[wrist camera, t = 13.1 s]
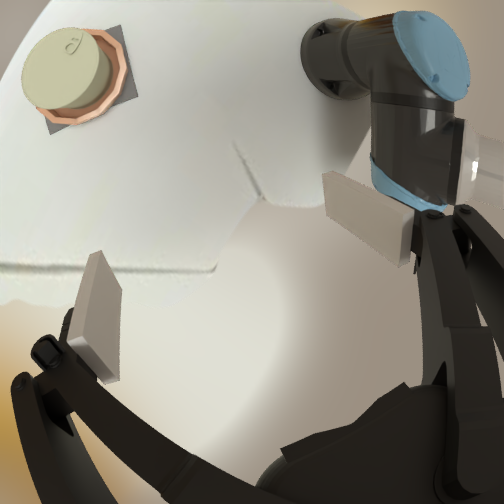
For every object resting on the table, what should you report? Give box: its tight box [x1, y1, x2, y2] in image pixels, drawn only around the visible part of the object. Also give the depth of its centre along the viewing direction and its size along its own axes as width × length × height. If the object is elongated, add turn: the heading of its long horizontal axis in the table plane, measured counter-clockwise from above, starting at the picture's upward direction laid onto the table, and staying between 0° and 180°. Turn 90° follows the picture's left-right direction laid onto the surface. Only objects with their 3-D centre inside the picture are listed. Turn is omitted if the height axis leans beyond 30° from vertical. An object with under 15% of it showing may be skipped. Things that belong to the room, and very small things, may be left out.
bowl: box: [36, 29, 128, 125], centre depth 27 cm, size 13×13×3 cm
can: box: [21, 28, 113, 109], centre depth 23 cm, size 9×9×12 cm
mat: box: [45, 25, 138, 135], centre depth 29 cm, size 14×12×1 cm
